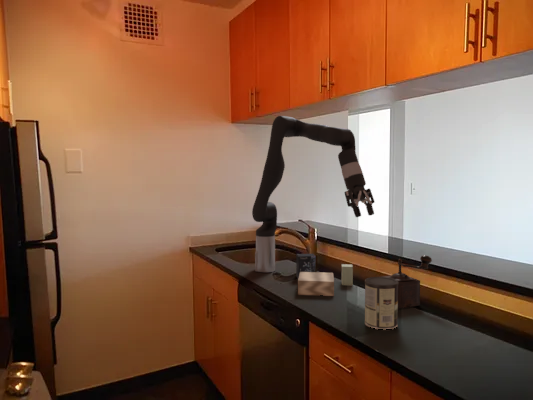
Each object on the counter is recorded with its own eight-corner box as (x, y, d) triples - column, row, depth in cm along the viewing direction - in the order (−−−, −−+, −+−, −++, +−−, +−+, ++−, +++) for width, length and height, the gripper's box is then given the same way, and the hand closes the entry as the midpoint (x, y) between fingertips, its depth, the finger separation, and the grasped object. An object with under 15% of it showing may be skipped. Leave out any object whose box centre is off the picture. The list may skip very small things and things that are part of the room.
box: (298, 279, 186) (298, 256, 185) (296, 276, 192) (296, 253, 191) (315, 279, 187) (315, 255, 187) (312, 275, 193) (312, 253, 192)
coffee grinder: (398, 310, 146) (399, 259, 145) (378, 300, 156) (379, 253, 155) (433, 304, 152) (434, 256, 150) (412, 296, 162) (413, 250, 160)
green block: (341, 285, 177) (342, 266, 177) (341, 282, 182) (341, 264, 181) (352, 285, 177) (352, 266, 176) (351, 282, 181) (352, 264, 181)
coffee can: (379, 316, 140) (380, 275, 139) (404, 326, 131) (405, 282, 130) (357, 322, 134) (357, 279, 133) (381, 333, 126) (382, 287, 125)
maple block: (297, 295, 164) (298, 280, 164) (299, 285, 178) (299, 271, 178) (333, 296, 162) (334, 281, 162) (333, 286, 176) (333, 272, 176)
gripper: (356, 178, 170) (368, 217, 166) (334, 179, 160) (346, 220, 157) (371, 172, 164) (383, 211, 161) (349, 172, 155) (362, 214, 151)
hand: (365, 215), depth 159 cm, fingers open, 8 cm apart
